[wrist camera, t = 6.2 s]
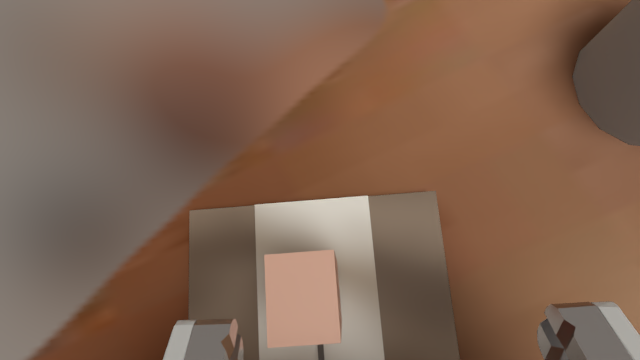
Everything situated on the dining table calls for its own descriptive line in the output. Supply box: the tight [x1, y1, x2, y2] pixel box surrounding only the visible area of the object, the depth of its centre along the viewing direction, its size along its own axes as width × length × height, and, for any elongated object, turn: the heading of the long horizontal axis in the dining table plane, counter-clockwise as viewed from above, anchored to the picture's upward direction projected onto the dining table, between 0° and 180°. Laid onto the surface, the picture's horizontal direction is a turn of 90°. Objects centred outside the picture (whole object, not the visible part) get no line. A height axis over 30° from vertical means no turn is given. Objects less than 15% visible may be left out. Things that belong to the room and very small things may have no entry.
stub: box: [264, 250, 342, 348], centre depth 17 cm, size 3×2×8 cm
